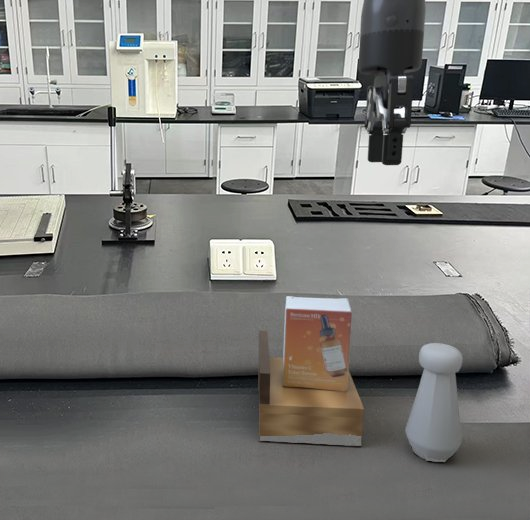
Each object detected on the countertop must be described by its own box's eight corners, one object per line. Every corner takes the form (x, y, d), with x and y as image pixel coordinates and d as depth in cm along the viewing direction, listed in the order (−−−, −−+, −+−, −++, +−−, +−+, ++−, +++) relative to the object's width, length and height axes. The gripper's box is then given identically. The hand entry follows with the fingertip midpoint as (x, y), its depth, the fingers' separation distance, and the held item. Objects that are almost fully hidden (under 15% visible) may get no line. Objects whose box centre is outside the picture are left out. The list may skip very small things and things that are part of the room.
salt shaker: (466, 470, 58) (479, 359, 55) (410, 466, 59) (420, 356, 56) (450, 441, 63) (460, 338, 60) (399, 437, 64) (407, 336, 61)
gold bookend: (342, 392, 76) (345, 332, 74) (361, 447, 62) (366, 376, 60) (258, 388, 77) (258, 330, 75) (258, 442, 64) (259, 372, 62)
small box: (282, 387, 67) (283, 308, 64) (283, 369, 72) (284, 294, 70) (348, 392, 65) (352, 311, 63) (344, 373, 71) (348, 297, 68)
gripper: (442, 18, 59) (430, 166, 63) (407, 40, 73) (398, 160, 77) (372, 21, 60) (364, 167, 64) (350, 43, 74) (345, 161, 77)
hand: (383, 163), depth 70 cm, fingers open, 8 cm apart
